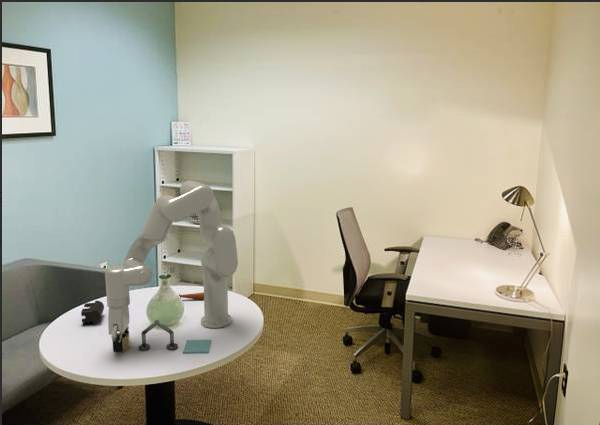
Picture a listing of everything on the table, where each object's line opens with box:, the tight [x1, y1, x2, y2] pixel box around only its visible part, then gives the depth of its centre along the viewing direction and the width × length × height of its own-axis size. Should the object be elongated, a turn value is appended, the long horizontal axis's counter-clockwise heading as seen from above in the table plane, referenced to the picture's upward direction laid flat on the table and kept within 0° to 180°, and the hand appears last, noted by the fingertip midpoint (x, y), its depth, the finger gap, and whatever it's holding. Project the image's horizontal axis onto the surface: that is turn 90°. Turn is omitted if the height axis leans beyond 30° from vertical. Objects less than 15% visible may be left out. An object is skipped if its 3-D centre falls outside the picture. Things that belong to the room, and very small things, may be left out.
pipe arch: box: [137, 319, 179, 352], centre depth 173 cm, size 4×14×11 cm, turn 94°
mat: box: [182, 339, 212, 355], centre depth 175 cm, size 9×9×1 cm
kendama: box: [178, 292, 204, 301], centre depth 215 cm, size 6×6×20 cm
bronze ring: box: [116, 333, 131, 353], centre depth 172 cm, size 5×5×5 cm
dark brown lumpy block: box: [80, 300, 105, 327], centre depth 194 cm, size 10×7×7 cm
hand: (121, 345), depth 173 cm, fingers open, 7 cm apart
